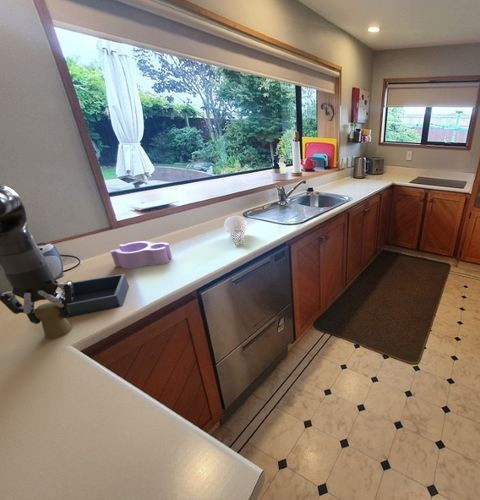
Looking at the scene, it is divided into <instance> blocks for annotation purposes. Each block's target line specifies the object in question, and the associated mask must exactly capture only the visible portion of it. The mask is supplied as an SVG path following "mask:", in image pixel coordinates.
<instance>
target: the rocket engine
mask: <svg viewBox="0 0 480 500" xmlns="http://www.w3.org/2000/svg"><path fill="white" fill-rule="evenodd" d="M223 225H224V226H223V227H224V229H225V231H226V232H227V233H228V234H229V235H230V236H231V241H233V242H234V246H236V247H239V245H245V241H246V238H245V234H246V232H247V228H248V222H247V220H246V219H245V217H244V216H241V215H231V216H229V217H227V218H226V219H225V221H224V223H223Z"/></svg>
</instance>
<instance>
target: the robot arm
mask: <svg viewBox="0 0 480 500" xmlns="http://www.w3.org/2000/svg"><path fill="white" fill-rule="evenodd" d="M0 270H1V272H2V273H3V275H4V276H5V278H6V280H7V282H8V283H9V286H10V287H11V288H12V290H10V291H8V290H5V291H3V292H2V293H1V294H0V302H1V303H2V304H4V306H5V307H7V309H8V310H10V311H11V313H13V314H14V315H19V314H26V316H27V318H28V319H29V321H30V322H31V323H33V324H34V325H38V324H40V323H42V322H41V319H38V318H37V317H36V316H35V314H34V311H35V309H36V308H35V303H37V302H39V301H48V302H51V303H54V304H56V305H57V306H58V307H59V308H58V309H59V311H60V313H61V315H62V317H63V318H66V319H68V318H67V317H68V315H69V314H70V312H71V310H70V308H69V306H68V304H70V303H71V302H72V301H73V299H74V290H73V282H74V281H73V280H67V281H66V282H59V281H58V280H56V279H55V278H54V275H53V273H52V271H51V269H50V267H49V265H48V262H47V260H46V258H45V256H44V254H43V252H42V250H41V249H40V248H39V246H38V245H37V243H36V241H35V238H34V236H33V234H32V233H31V230H30V229H29V223H28V216H27V211H26V208H25V204H24V202H23V200H22V198H21V196H20V195H19V193H17V192H16V191H15V190H14V189H12V188H10V187H9V186H7V185H4V184H0ZM58 288H60V290H61V291H62V292H63V291H64V293H65V298H64V297H62V296H61V293H60V291H58V290H57V289H58ZM17 297H19V298H21V299H23V304H22V302H21V301H20V300H18V299H17Z"/></svg>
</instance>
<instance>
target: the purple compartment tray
mask: <svg viewBox="0 0 480 500" xmlns="http://www.w3.org/2000/svg"><path fill="white" fill-rule="evenodd" d="M110 254H111V257H112V260H113V263H114V266H115V267H122V268H123V269H137V268H142V267H145V266H151V265H155V266H159V265H164V264H168V263H169V262H170V260H171V259H173V256H172V251H171V247H170V243H168V242H163V241H161V242H150V241H146V240H145V241H144V240H143V241H132V242H129V243H124V244H123V243H120V244H118V248H117V249H112V250H110Z"/></svg>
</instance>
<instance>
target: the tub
mask: <svg viewBox="0 0 480 500" xmlns="http://www.w3.org/2000/svg"><path fill="white" fill-rule="evenodd" d="M72 282H73V290H74V299H73V301H72V302H71V303H70V304H68V306H69V308H70V310H71V312H70V314H69V315H68V317H67V318H66V319H69V318H74V317H79V316H83V315H88V314H93V313H97V312H103V311H108V310H113V309H118V308H122V307H123V306H124V303H125V300H126V298H127V297H126V296H127V294H128V291H129V288H130V285H129V281H128V279H127V276H126V274H125V273H121V274H115V275H108V276H103V277H96V278H90V279H85V280H79V281H77V280H76V281H72ZM60 294H61V296H62V297H64V298H65V293H64V291H62V292H61V293H60Z"/></svg>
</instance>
